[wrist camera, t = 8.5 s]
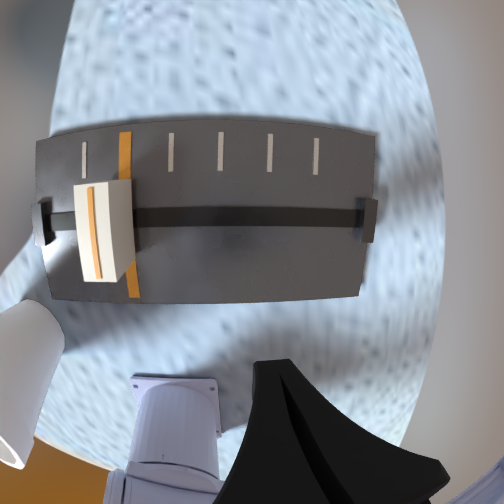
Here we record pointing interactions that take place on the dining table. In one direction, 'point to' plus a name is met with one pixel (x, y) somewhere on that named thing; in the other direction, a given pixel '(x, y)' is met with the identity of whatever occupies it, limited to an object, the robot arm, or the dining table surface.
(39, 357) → the foam cup
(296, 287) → the console
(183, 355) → the dining table surface
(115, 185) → the block
